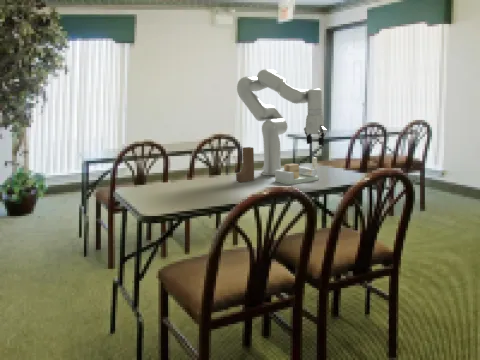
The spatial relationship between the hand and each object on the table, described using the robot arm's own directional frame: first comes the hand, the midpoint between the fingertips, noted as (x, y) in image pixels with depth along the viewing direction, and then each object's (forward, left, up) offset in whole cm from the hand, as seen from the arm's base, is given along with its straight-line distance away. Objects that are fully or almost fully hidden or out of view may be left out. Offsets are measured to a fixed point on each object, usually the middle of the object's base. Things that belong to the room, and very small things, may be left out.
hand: (315, 144), depth 264 cm
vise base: (0, -12, -18) cm, 22 cm away
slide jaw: (0, -3, -16) cm, 16 cm away
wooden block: (-17, -34, -19) cm, 43 cm away
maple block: (0, -16, -17) cm, 23 cm away
